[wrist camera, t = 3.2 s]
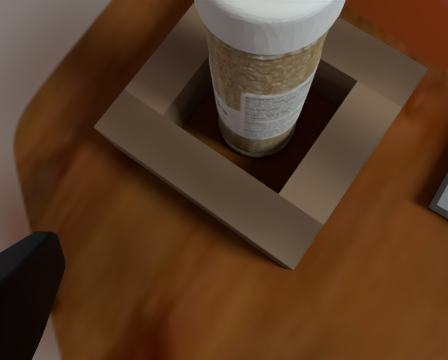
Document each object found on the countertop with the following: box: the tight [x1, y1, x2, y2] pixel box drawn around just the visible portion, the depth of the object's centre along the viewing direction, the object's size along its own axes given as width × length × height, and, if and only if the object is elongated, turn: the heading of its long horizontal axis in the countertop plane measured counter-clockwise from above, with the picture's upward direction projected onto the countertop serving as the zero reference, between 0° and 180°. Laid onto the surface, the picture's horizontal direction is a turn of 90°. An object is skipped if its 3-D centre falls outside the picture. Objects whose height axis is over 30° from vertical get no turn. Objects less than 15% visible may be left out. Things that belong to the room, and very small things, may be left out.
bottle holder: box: [94, 2, 428, 270], centre depth 21 cm, size 12×12×4 cm
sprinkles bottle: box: [194, 0, 345, 158], centre depth 17 cm, size 5×5×13 cm
